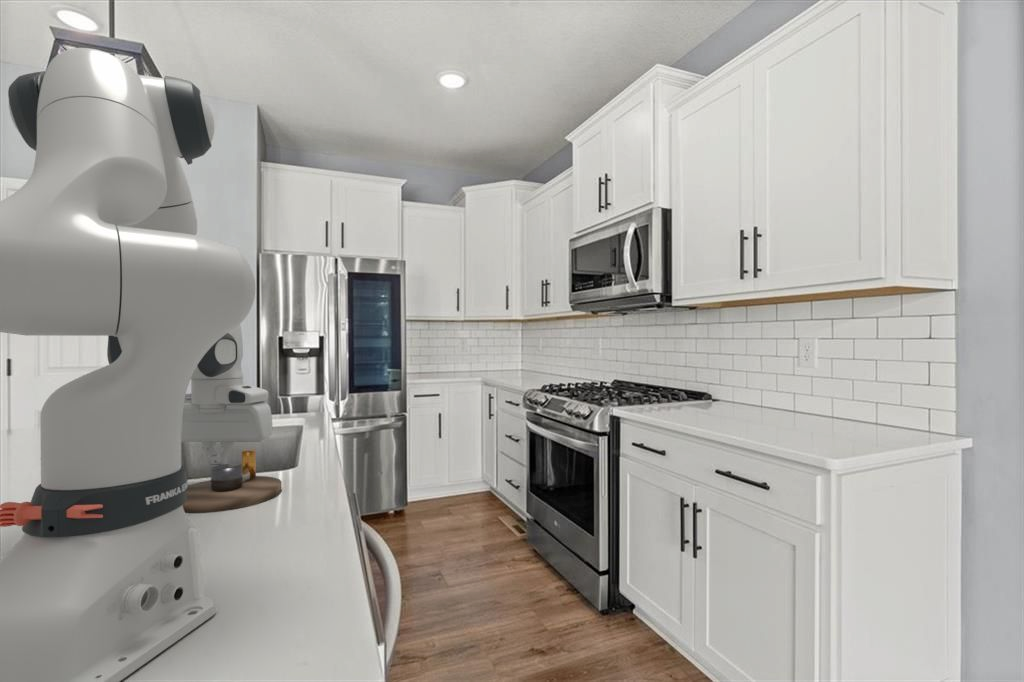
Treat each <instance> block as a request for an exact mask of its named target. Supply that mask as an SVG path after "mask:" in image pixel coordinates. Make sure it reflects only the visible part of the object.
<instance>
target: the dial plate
mask: <svg viewBox="0 0 1024 682" xmlns="http://www.w3.org/2000/svg"><path fill="white" fill-rule="evenodd" d="M282 483H283V482H282V481H281V480H280V479H279V478H276V477H273V476H267V475H264V476H263V475H256V477H255V478H252V479H249V480H246V481H244V482H243V485H242V486H241V487H239V488H235V489H230V490H222V491H216V490H212V489H211V479H210V480H205V481H204V480H203V481H199V482H195V483H192V484H191V483H190V484H188V487H187V500H186V502H185V503H184V504H183V509H184V511H185V513H189V514H190V513H195V514H196V513H197V514H199V513H213V512H223V511H230V510H231V511H232V510H236V509H241V508H247V507H250V506H255V505H257V504H261V503H264V502H267V501H271V500H272V499H275V498H276V497H277V496H279V495H280V494H281V493H282V490H283V489H282V486H283V485H282Z"/></svg>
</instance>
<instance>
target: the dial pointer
mask: <svg viewBox="0 0 1024 682" xmlns="http://www.w3.org/2000/svg"><path fill="white" fill-rule="evenodd" d="M256 457H257V456H256V449H251V448H250V449H243V450H242V451H241V463H228V464H224V465H213V466H212V467H210V480H211V489H212V490H216V491H222V490H230V489H235V488H239V487H241V486H242V485H243V482H244V481H246V480H249V479H252V478H255V477H256V476H257V474H256V473H257V466H256V464H257V463H256V462H257V460H256Z"/></svg>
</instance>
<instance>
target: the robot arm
mask: <svg viewBox="0 0 1024 682" xmlns="http://www.w3.org/2000/svg"><path fill="white" fill-rule="evenodd" d="M7 94H8V110H9V115H10V118H11V121H12V123H13V125H14V127H15V129H16V130H17V132H18V133H19V135H20V136H21V138H22V139H23V141H24V142H25V143H26V145H27V146H28V147H29V148H30V149H32V150H33V151H35V159H34V163H33V169H32V174H31V175H30V177H29V178H28V180H27V181H26V182H25V183H24V184H23V185H22V186H21V187H20V188H19V189H18V190H17V191H15V192H14V193H12V194H10V195H9V196H7V197H6V198H4V199H1V201H0V333H5V334H11V335H20V336H47V337H50V336H60V337H61V336H62V337H63V336H64V337H67V336H74V337H75V336H77V337H78V336H82V337H83V336H86V337H89V336H90V337H91V336H93V337H94V336H95V337H97V336H100V337H101V336H104V337H105V336H107V338H108V339H107V349H106V350H107V352H106V354H107V357H106V358H107V361H108V364H107V365H105V366H103V367H101V368H98V369H95V370H93V371H90V372H89V373H86V374H84V375H81V376H79V377H77V378H74V379H73V380H70V381H69V382H67V383H65V384H63V385H61V386H60V387H58V388H57V389H56V390H54V392H52V393H51V394H50V395H49V396H48V398H47V399H46V401H45V402H44V404H43V406H42V408H41V410H40V415H39V418H40V426H39V427H40V429H39V430H40V432H39V433H40V484H38V485H37V486H36V488H35V489H34V492H33V494H32V497H31V500H30V501H23V502H16V501H15V502H14V501H13V502H12V501H6V502H3V503H1V504H0V528H3V527H4V528H6V527H11V526H17V527H21V531H22V532H23V535H22V537H20V539H19V540H18V541H17V543H16V544H15V545H13V547H12V548H11V549H10V550H9V551H8V552H7V553H6V555H5V556H3V558H2V559H1V560H0V682H121V681H122V680H123V679H125V678H127V677H128V676H129V675H131V674H132V673H134V672H135V671H137V670H138V669H140V668H141V667H143V666H144V665H145V664H146V663H148V662H149V661H150V660H152V659H153V658H155V657H156V656H157V655H159V654H161V653H162V652H163V651H165V650H167V648H169V647H171V646H172V645H173V644H175V643H176V642H178V641H179V640H181V639H182V638H183V637H185V636H186V635H188V633H190V632H191V631H193V630H195V629H196V628H197V627H199V626H200V625H202V624H203V623H204V622H206V621H207V620H209V619H210V618H212V617H213V616H214V615H215V614H216V612H217V610H216V608H217V607H216V602H215V600H214V599H212V598H210V597H209V596H207V595H205V588H204V578H203V569H202V560H201V553H200V543H199V534H198V531H197V529H196V528H195V526H194V525H192V523H191V521H190V520H189V518H188V516H187V514H186V512H185V511H184V509H183V504H184V503H185V502H186V500H187V487H188V485H189V484H188V483H189V482H188V480H189V479H188V478H187V469H186V467H184V466H183V465H182V443H202V449H203V451H204V453H205V454H206V455H207V457H208V465H209V466H218V465H224V464H229V456H230V454H231V452H232V451H233V448H234V447H235V443H261V442H264V441H267V440H269V439H270V438H271V436H272V435H273V431H274V430H273V415H272V410H271V406H270V405H269V404H268V403H267V402H266V401H267V400H269V391H268V390H266V389H264V388H262V387H261V388H260V387H258V386H255V385H252V384H249V383H246V382H244V373H243V371H242V359H243V357H244V347H243V346H244V343H243V342H244V341H243V333H242V326H241V324H242V322H243V321H244V320H245V319H246V318H247V316H248V315H249V313H250V311H251V310H252V307H253V305H254V302H255V298H256V288H257V287H256V280H255V275H254V272H253V270H252V267H251V265H250V263H249V261H248V260H247V258H246V257H245V256H244V255H243V253H242V252H241V251H240V250H239V249H238V248H237V247H235V246H232V245H229V244H226V243H223V242H221V241H220V242H219V241H216V240H212V239H211V238H210V239H209V238H206V237H202V236H198V235H197V233H198V220H197V215H196V214H197V213H196V210H195V204H194V201H193V198H192V193H191V189H190V186H189V183H188V181H187V177H186V174H185V171H184V169H183V165H182V164H181V161H180V160H179V158H180V159H184V161H185V162H186V164H187V165H192V164H193V160H195V159H198V158H200V157H202V156H204V155H206V153H207V152H208V151H209V150H210V149H211V148H212V141H213V139H214V134H215V121H214V115H213V112H212V109H211V107H210V106H209V103H208V102H207V100H206V99H205V98H204V96H203V95H202V92H201V90H200V88H198V87H197V86H196V85H195V84H194V83H193V82H192V81H190V80H186V79H183V78H178V77H173V76H168V75H165V76H164V77H158V76H157V77H156V76H151V75H143V74H137V72H136V71H135V70H134V69H133V68H132V67H131V66H130V65H129V64H128V63H126V62H125V61H123V60H122V59H120V58H119V57H117V56H115V55H113V54H112V53H108V52H106V51H104V50H100V49H96V48H91V47H90V48H89V47H78V48H77V47H76V48H74V47H73V48H70V49H67V50H63V51H62V52H60V53H58V54H57V55H55V56H54V57H53V58H52V59H51V61H50V62H49V64H48V65H47V68H46V69H45V71H44V70H43V71H35V72H30V73H26V74H22V75H19V76H17V77H16V79H14V81H12V82H11V84H10V85H9V87H8V91H7ZM190 381H191V382H190ZM190 383H191V384H190ZM189 384H190V385H191V386H190V387H191V389H190V390H191V391H190V393H187V391H188V386H189ZM217 443H220V448H223V449H222V451H221V453H220V454H218V453H217V450H216V448H215V446H217Z"/></svg>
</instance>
